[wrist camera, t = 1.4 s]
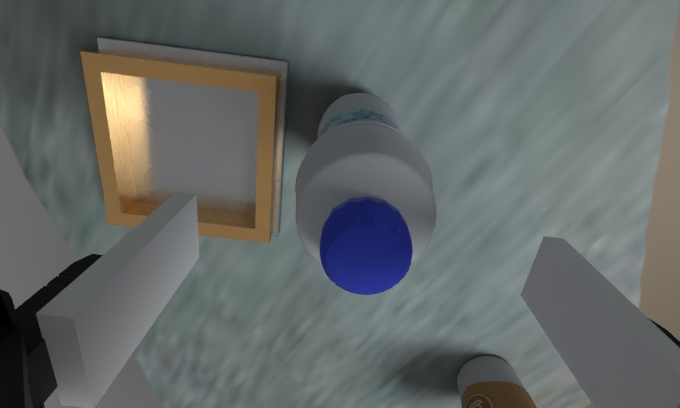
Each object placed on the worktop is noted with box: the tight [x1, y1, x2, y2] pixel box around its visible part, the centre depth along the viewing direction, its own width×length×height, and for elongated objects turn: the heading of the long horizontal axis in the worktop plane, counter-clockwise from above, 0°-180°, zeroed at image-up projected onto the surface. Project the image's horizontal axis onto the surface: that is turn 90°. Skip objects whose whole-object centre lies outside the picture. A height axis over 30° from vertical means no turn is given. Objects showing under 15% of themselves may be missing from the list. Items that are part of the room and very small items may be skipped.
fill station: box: [80, 37, 290, 243], centre depth 30 cm, size 15×14×4 cm
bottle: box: [295, 93, 436, 295], centre depth 21 cm, size 7×7×20 cm
